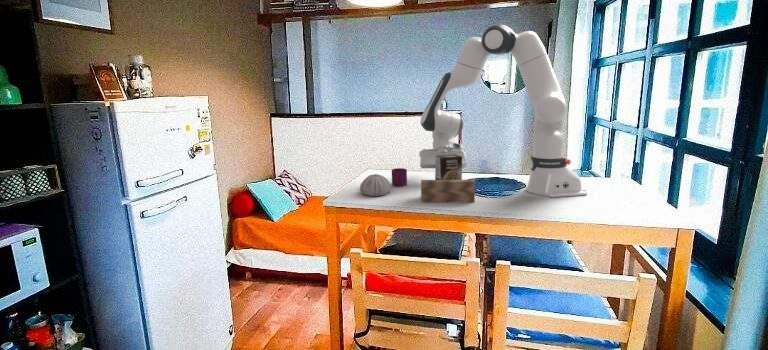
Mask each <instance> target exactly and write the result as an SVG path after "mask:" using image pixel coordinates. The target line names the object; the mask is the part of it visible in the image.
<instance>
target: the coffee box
mask: <svg viewBox="0 0 768 350" xmlns="http://www.w3.org/2000/svg"><path fill="white" fill-rule="evenodd" d="M434 170H435V172H434V180H463V178H462V177H463V176H462V175H463V168H462V156H459V155H456V154H451V155H437V156H435V168H434Z"/></svg>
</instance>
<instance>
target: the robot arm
mask: <svg viewBox="0 0 768 350" xmlns="http://www.w3.org/2000/svg"><path fill="white" fill-rule="evenodd" d="M506 54H507V55H508V54H511V55H512V57H513V58H514V59H515V62H516V65H517V67H518V70H519V72H520V73H519V74H520V75H521V78H522V81H523V83H524V86H525V88H526V92H527V94H528V97H529V100H530V103H531V106H532V108H533V110H534V117H533V118H534V119H533V123H534V124H533V137H532V155H530V160H529V161H530V163H529V164H530V165H529V167H530V168H529V169H530V174H529V179H528V182H527V186H526V188H525V190H526V191H527V192H529V193H531V194H535V195H538V196H539V195H541V196H546V197H549V198H558V197H559V198H560V197H575V196H578V197H579V196H587V194H588V190H587V189H586V188H585V187H583V186H582V181H581V178H580V176H579V175H578V174H577V173H576V172H574V171H573V170H572V169H571V168H569V167H568V166H570V164H571V159H569V158H565V157H564V156H563V148H564V133H565V132H564V127H565V115H566V113H567V110H568V109H567V102H566V100H565V97H564V95H563V92H562V90H561V87H560V85H559V82H558V80H557V78H556V77H557V76H556V75H555V72H554V69H553V67H552V64H551V61H550V58H549V56H548V54H547V51H546V47H545V46H544V44H543V42H542V41H541V39H540V37H539V36H538V34H537V32H534V31H532V30H527V31H522V32H520V33H517V32H516V31H515V30H514V29H513V28H512V27H510V26H508V25H505V24H493V25H491V26H489V27H488V28H487V29H485V30H484V32H483V34H482V37H480V36H479V37H478V36H472V37H469V38H468V39H467V40H466V41H465V43H464V44H463V46H462V48H461V50H460V52H459V55H458V58H457V60H456V63H455V65H454V67H453V68H452V69H451V70H450V71H449V72H446V73H445V74H444V75H443V76H442V78H441V80H440V81H439V83H438V85H437V86H436V89H435V91H434V93H433V94H432V96H431V99H430V101H429V103H428V104H427V106H426V108H425V109H424V110H423V112H422V114H421V117H420V124H421V127H422V128H423V129H424V130H425V131H426V132H432V133H431V134H432V135H431V136H432V140H433V141H432V148H429V149H427V148H426V149H425V148H423V149H422V150H420V151H419V154H418V155H419V158H420V159H419V160H420V163H419V164H420V165H419V166H420V168H421V169H424V170H425V169H435V156H437V155H451V154H456V155H459V156H462V169H466V167H467V164H468V161H467V160H468V159H467V155H466V152H465V151H464V147H463V144H461V143H456V142H453V139H454V138H455V137H457V136H458V135H460V133H461V132H462V130H463V127H464V121H463V120H464V119H463V118H462V116H461V115H460V113H456V112H453V111H447V110H441V109H439V108H440V107H441V105H442V103H443V101H444V99H445V97H446V96H447V93H449V92H450V91H452V90H453V91H454V90H455V89H461V88H467V87H469V86H473V85H474V84H476V83H477V82H478V81H479V79H480V77H481V75H482V73H483V69H484V67H485V64H486V61H487V60H488V58H489V57H490V56H491V55H496V56H500V55H501V56H504V55H506ZM567 165H568V166H567Z"/></svg>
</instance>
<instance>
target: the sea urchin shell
mask: <svg viewBox="0 0 768 350" xmlns="http://www.w3.org/2000/svg"><path fill="white" fill-rule="evenodd" d="M391 190H392V183H391V182H390V180H389V179H388V178H386V177H385V176H383V175H381V174H375V173H374V174H370V175H368V176H366V178H364V179H363V180H362V182H361V183H360V185H359V191H360V194H362V195H365V196H370V197H380V196H384V195H387V194H389V193H390V192H391Z"/></svg>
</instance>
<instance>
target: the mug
mask: <svg viewBox="0 0 768 350" xmlns="http://www.w3.org/2000/svg"><path fill="white" fill-rule="evenodd" d="M391 186H392V187H405V186H408V169H407V168H401V167H399V168H397V167H395V168H392V169H391Z"/></svg>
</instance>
